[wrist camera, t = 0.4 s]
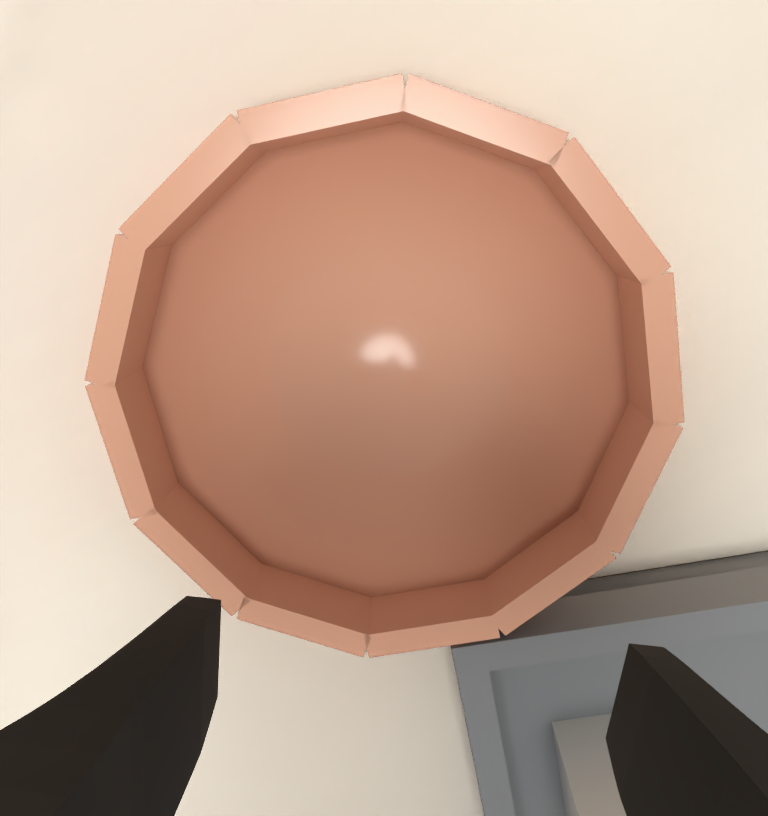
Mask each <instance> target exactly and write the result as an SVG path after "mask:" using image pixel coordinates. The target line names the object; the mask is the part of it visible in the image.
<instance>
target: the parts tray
mask: <svg viewBox="0 0 768 816" xmlns="http://www.w3.org/2000/svg"><path fill="white" fill-rule="evenodd" d="M498 629H499V628H498ZM499 634H500V638H496V639H489V640H483V641H476V642H470V643H463V644H457V645H451V650H452V655H453V660H454V665H455V670H456V675H457V680H458V685H459V690H460V695H461V700H462V705H463V710H464V715H465V720H466V725H467V730H468V735H469V740H470V745H471V750H472V755H473V760H474V765H475V770H476V775H477V780H478V785H479V790H480V795H481V800H482V805H483V810H484V815H485V816H566V813H565V806H564V800H563V793H562V787H561V780H560V774H559V767H558V761H557V754H556V748H555V741H554V735H553V729H552V722H555V721H562V720H569V719H576V718H583V717H590V716H597V715H604V714H611V713H612V710H613V706H614V702H615V698H616V694H617V690H618V686H619V681H620V677H621V673H622V669H623V665H624V661H625V657H626V653H627V649H628V645H629V643H631V644H640V645H649V646H659V647H664V648H666V649H667V650H668V651H670V652H671V653H672V654H674V655H675V656H676V657H677V658H679V659H680V660H681V661H682V662H684V663H685V664H686V665H687V666H688V667H690V668H691V669H692V670H693V671H694V672H695V673H697V674H698V675H699V676H700V677H701V678H703V679H704V680H705V681H706V682H707V683H708V684H710V685H711V686H712V687H713V688H714V689H715V690H717V691H718V692H719V693H720V694H721V695H722V696H724V697H725V698H726V699H727V700H728V701H729V702H731V703H732V704H733V705H734V706H735V707H736V708H738V709H739V710H740V711H741V712H742V713H743V714H745V715H746V716H747V717H748V718H749V719H751V720H752V721H753V722H754V723H755V724H757V725H758V726H759V727H760V728H761V729H763V730H764V731H765V732H766V733H768V551H765V552H759V553H752V554H746V555H740V556H733V557H727V558H721V559H714V560H708V561H702V562H695V563H689V564H683V565H676V566H670V567H664V568H657V569H651V570H645V571H638V572H632V573H626V574H619V575H613V576H607V577H600V578H594V579H588V580H584V581H583V582H582V583H580V584H579V585H577V586H576V587H574V588H573V589H572V590H570V591H569V592H567V593H566V594H564V595H563V596H562V597H560V598H559V599H557V600H556V601H554V602H553V603H552V604H550V605H549V606H547V607H546V608H544V609H543V610H542V611H540V612H539V613H537V614H536V615H534V616H533V617H532V618H530V619H529V620H527V621H526V622H524V623H523V624H522V625H520V626H519V627H517V628H516V629H514V630H513V631H512V632H510V633H509V634H507V635H506V636H505V635H504V634H503V633H502V632H501V631H500V629H499Z"/></svg>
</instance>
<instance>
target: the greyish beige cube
mask: <svg viewBox="0 0 768 816" xmlns="http://www.w3.org/2000/svg"><path fill="white" fill-rule="evenodd" d="M611 714H612V713H611ZM611 714H604V715H597V716H590V717H583V718H576V719H569V720H562V721H555V722H552V729H553V735H554V741H555V748H556V754H557V761H558V767H559V774H560V780H561V787H562V793H563V800H564V806H565V813H566V816H627V815H626V813H625V810H624V807H623V804H622V802H621V799H620V796H619V792H618V788H617V784H616V780H615V776H614V773H613V769H612V764H611V760H610V756H609V751H608V747H607V743H606V734H607V730H608V726H609V722H610V718H611Z"/></svg>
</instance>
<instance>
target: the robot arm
mask: <svg viewBox="0 0 768 816" xmlns="http://www.w3.org/2000/svg"><path fill="white" fill-rule="evenodd" d="M220 618H221V600H219V599H210V598H201V597H191V596H186V597H185V598H184V599H182V600H181V601H180V602H178V603H177V604H176V605H175V606H173V607H172V608H171V609H170V610H168V611H167V612H166V613H165V614H163V615H162V616H161V617H160V618H159V619H157V620H156V621H155V622H154V623H153V624H151V625H150V626H149V627H148V628H146V629H145V630H144V631H143V632H142V633H140V634H139V635H138V636H137V637H135V638H134V639H133V640H132V641H130V642H129V643H128V644H126V645H125V646H124V647H123V648H121V649H120V650H119V651H117V652H116V653H115V654H114V655H112V656H111V657H110V658H108V659H107V660H106V661H105V662H103V663H102V664H101V665H99V666H98V667H97V668H95V669H94V670H93V671H91V672H90V673H88V674H87V675H85V676H84V677H83V678H81V679H80V680H78V681H77V682H76V683H74V684H73V685H71V686H70V687H68V688H67V689H66V690H64V691H63V692H61V693H60V694H58V695H57V696H56V697H54V698H52V699H51V700H49V701H48V702H46V703H45V704H43V705H42V706H40V707H38V708H37V709H35V710H34V711H32V712H30V713H29V714H27V715H25V716H24V717H22V718H20V719H19V720H17V721H15V722H13V723H12V724H10V725H8V726H7V727H5V728H3V729H2V730H0V816H174V815H175V812H176V810H177V808H178V805H179V803H180V801H181V799H182V796H183V794H184V791H185V789H186V787H187V784H188V782H189V780H190V777H191V775H192V773H193V770H194V768H195V765H196V763H197V761H198V758H199V756H200V753H201V750H202V747H203V744H204V741H205V737H206V734H207V731H208V728H209V724H210V721H211V717H212V714H213V710H214V707H215V703H216V700H217V695H218V669H219V644H220ZM606 743H607V747H608V751H609V756H610V760H611V764H612V769H613V773H614V776H615V780H616V784H617V788H618V792H619V796H620V799H621V802H622V804H623V807H624V810H625V813H626V815H627V816H768V733H766V732H765V731H764V730H763V729H761V728H760V727H759V726H758V725H757V724H755V723H754V722H753V721H752V720H751V719H749V718H748V717H747V716H746V715H745V714H743V713H742V712H741V711H740V710H739V709H738V708H736V707H735V706H734V705H733V704H732V703H731V702H729V701H728V700H727V699H726V698H725V697H724V696H722V695H721V694H720V693H719V692H718V691H717V690H715V689H714V688H713V687H712V686H711V685H710V684H708V683H707V682H706V681H705V680H704V679H703V678H701V677H700V676H699V675H698V674H697V673H695V672H694V671H693V670H692V669H691V668H690V667H688V666H687V665H686V664H685V663H684V662H682V661H681V660H680V659H679V658H677V657H676V656H675V655H674V654H672V653H671V652H670V651H668V650H667V649H666V648H664V647H659V646H649V645H640V644H631V643H629V645H628V649H627V653H626V657H625V661H624V665H623V669H622V673H621V677H620V681H619V686H618V690H617V694H616V698H615V702H614V706H613V710H612V714H611V718H610V722H609V726H608V730H607V734H606Z"/></svg>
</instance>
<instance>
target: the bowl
mask: <svg viewBox="0 0 768 816" xmlns="http://www.w3.org/2000/svg"><path fill="white" fill-rule="evenodd" d="M237 113H238V118H237V117H235V116H233V115H232V114H230V115H229V116H228V117H227V118H226V119H225V120H224V121H223V122H222V123H221V124H220V125H219V126H218V127H217V128H216V129H215V130H214V131H213V132H212V133H211V134H210V135H209V136H208V137H207V138H206V139H205V141H204V142H203V143H202V144H201V145H200V146H199V147H198V148H197V149H196V150H195V151H194V152H193V153H192V154H191V155H190V156H189V157H188V158H187V159H186V160H185V161H184V162H183V163H182V164H181V165H180V166H179V167H178V168H177V169H176V170H175V171H174V172H173V173H172V174H171V175H170V176H169V177H168V178H167V179H166V180H165V181H164V182H163V183H162V185H161V186H160V187H159V188H158V189H157V190H156V191H155V192H154V193H153V194H152V195H151V196H150V197H149V198H148V199H147V200H146V201H145V202H144V203H143V204H142V205H141V206H140V207H139V208H138V209H137V210H136V211H135V212H134V213H133V214H132V215H131V216H130V217H129V218H128V219H127V220H126V221H125V222H124V223H123V224H122V225H121V226H120V228H119V230H120V231H121V232H122V233H123V234H116V235H115V238H114V243H113V248H112V253H111V257H110V262H109V267H108V272H107V276H106V281H105V286H104V291H103V295H102V300H101V305H100V310H99V314H98V319H97V324H96V329H95V333H94V338H93V343H92V348H91V352H90V357H89V362H88V367H87V371H86V376H85V380H86V381H89V382H92V383H90V384H89V385H87V386H85V388H86V390H87V393H88V396H89V399H90V402H91V405H92V408H93V411H94V414H95V417H96V420H97V423H98V426H99V429H100V432H101V435H102V438H103V441H104V444H105V446H106V449H107V452H108V455H109V458H110V461H111V464H112V467H113V470H114V473H115V476H116V479H117V482H118V485H119V488H120V491H121V494H122V497H123V500H124V502H125V505H126V508H127V511H128V514H129V517H130V519H133V518H138V519H137V520H136V521H135V523H134V525H135V526H136V527H137V528H138V529H139V530H140V531H141V532H142V533H143V534H145V535H146V536H147V537H148V538H149V539H150V540H151V541H152V542H153V543H154V544H155V545H156V546H157V547H158V548H160V549H161V550H162V551H163V552H164V553H165V554H166V555H167V556H168V557H169V558H170V559H171V560H172V561H173V562H174V563H176V564H177V565H178V566H179V567H180V568H181V569H182V570H183V571H184V572H185V573H186V574H187V575H188V576H189V577H191V578H192V579H193V580H194V581H195V582H196V583H197V584H198V585H199V586H200V587H201V588H202V589H203V590H204V591H205V592H207V593H208V594H209V595H210V596H211V597H212V598H213V599H219V600H221V607H223V608H224V609H225V610H226V611H227V612H228V613H229V614H230V615H231V616H232V615H234V614H235V613H236V612H237V611H239V613H238V617H237V619H239V620H242V621H245V622H248V623H252V624H255V625H258V626H262V627H265V628H268V629H272V630H275V631H278V632H281V633H285V634H288V635H291V636H295V637H298V638H301V639H304V640H308V641H311V642H314V643H318V644H321V645H324V646H327V647H331V648H334V649H337V650H341V651H344V652H347V653H351V654H354V655H357V656H360V657H364V655H365V652H366V650H367V651H368V655H369V658H371V657H378V656H384V655H391V654H397V653H404V652H411V651H417V650H424V649H430V648H437V647H443V646H450V645H457V644H463V643H470V642H476V641H483V640H489V639H496V638H500V634H499V629H500V631H501V632H502V633H503V634H504V635H505V636H506V635H507V634H509V633H510V632H512V631H513V630H514V629H516V628H517V627H519V626H520V625H522V624H523V623H524V622H526V621H527V620H529V619H530V618H532V617H533V616H534V615H536V614H537V613H539V612H540V611H542V610H543V609H544V608H546V607H547V606H549V605H550V604H552V603H553V602H554V601H556V600H557V599H559V598H560V597H562V596H563V595H564V594H566V593H567V592H569V591H570V590H572V589H573V588H574V587H576V586H577V585H579V584H580V583H582V582H583V581H584V580H586V579H587V578H589V577H590V576H592V575H593V574H594V573H596V572H597V571H599V570H600V569H602V568H603V567H604V566H606V565H607V564H609V563H610V562H612V561H613V560H614V559H616V557H615V556H614V554H613V552H616V553H619V554H620V553H621V551H622V549H623V547H624V545H625V543H626V541H627V539H628V537H629V535H630V533H631V531H632V529H633V527H634V525H635V523H636V521H637V519H638V517H639V515H640V513H641V511H642V509H643V507H644V505H645V503H646V501H647V499H648V497H649V495H650V493H651V491H652V489H653V487H654V485H655V483H656V481H657V479H658V477H659V475H660V473H661V471H662V469H663V467H664V465H665V463H666V461H667V459H668V457H669V455H670V453H671V451H672V449H673V447H674V445H675V443H676V441H677V439H678V437H679V435H680V433H681V431H682V429H683V428H682V427H681V426H680V425H678V424H677V423H682V422H684V412H683V398H682V384H681V371H680V357H679V343H678V330H677V316H676V302H675V289H674V275H673V273H672V272H668V271H666V270H667V269H668V268H670V267H671V266H670V264H669V263H668V262H667V260H666V259H665V258H664V256H663V255H662V254H661V252H660V251H659V250H658V248H657V247H656V246H655V244H654V243H653V242H652V240H651V239H650V237H649V236H648V235H647V233H646V232H645V231H644V229H643V228H642V227H641V225H640V224H639V223H638V221H637V220H636V219H635V217H634V216H633V215H632V213H631V212H630V211H629V209H628V208H627V207H626V205H625V204H624V203H623V201H622V200H621V199H620V197H619V196H618V195H617V193H616V192H615V191H614V189H613V188H612V187H611V185H610V184H609V182H608V181H607V180H606V178H605V177H604V176H603V174H602V173H601V172H600V170H599V169H598V168H597V166H596V165H595V164H594V162H593V161H592V160H591V158H590V157H589V156H588V154H587V153H586V152H585V150H584V149H583V148H582V146H581V145H580V144H579V142H578V141H577V140H576V138H575V137H574V138H571V139H569V140H566V139H567V136H568V134H569V133H568V132H566V131H563V130H560V129H557V128H555V127H552V126H549V125H547V124H544V123H541V122H539V121H536V120H533V119H530V118H528V117H525V116H522V115H520V114H517V113H514V112H512V111H509V110H506V109H503V108H501V107H498V106H495V105H493V104H490V103H487V102H485V101H482V100H479V99H476V98H474V97H471V96H468V95H466V94H463V93H460V92H458V91H455V90H452V89H449V88H447V87H444V86H441V85H439V84H436V83H433V82H430V81H428V80H425V79H422V78H420V77H417V76H414V75H412V74H409V77H408V80H407V83H406V86H405V87H404V82H403V76H402V73H401V74H397V75H392V76H388V77H383V78H379V79H374V80H370V81H366V82H361V83H357V84H352V85H348V86H343V87H339V88H334V89H330V90H326V91H321V92H317V93H312V94H308V95H303V96H299V97H294V98H290V99H286V100H281V101H277V102H272V103H268V104H263V105H259V106H254V107H250V108H245V109H241V110H237ZM612 551H613V552H612ZM498 628H499V629H498Z"/></svg>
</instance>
